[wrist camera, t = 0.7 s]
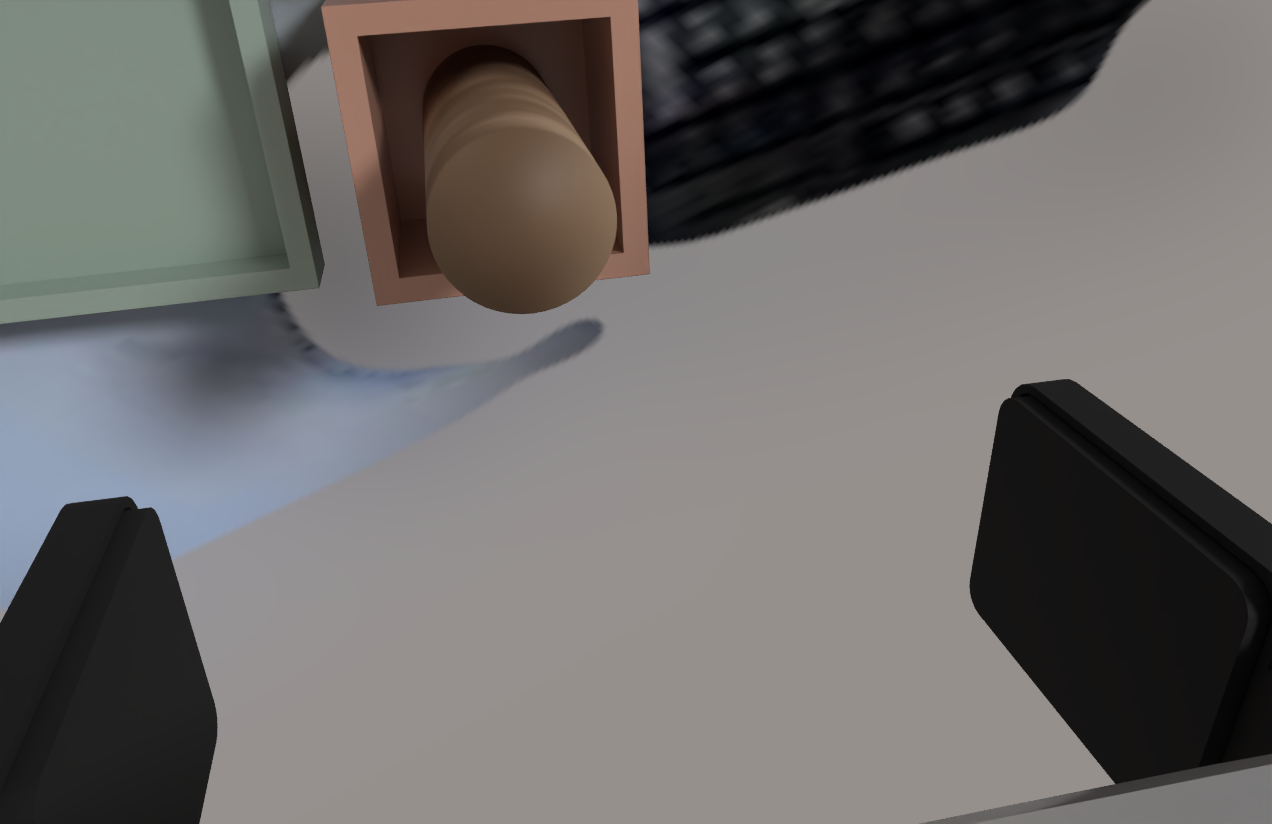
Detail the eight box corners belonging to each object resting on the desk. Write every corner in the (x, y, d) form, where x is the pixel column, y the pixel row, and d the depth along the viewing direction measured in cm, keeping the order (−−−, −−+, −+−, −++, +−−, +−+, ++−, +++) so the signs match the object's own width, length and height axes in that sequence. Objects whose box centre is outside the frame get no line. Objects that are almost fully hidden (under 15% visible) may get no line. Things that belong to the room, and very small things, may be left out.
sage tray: (246, -106, 30) (234, -105, 28) (324, 264, 36) (319, 287, 34) (-223, -80, 28) (-273, -78, 26) (-62, 306, 34) (-92, 334, 32)
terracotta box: (599, -34, 33) (637, -17, 28) (614, 214, 37) (649, 274, 32) (337, -16, 32) (320, 6, 26) (382, 239, 36) (376, 305, 31)
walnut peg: (544, 39, 33) (611, 120, 22) (556, 169, 36) (621, 302, 24) (413, 50, 33) (412, 138, 22) (432, 181, 35) (441, 324, 24)
